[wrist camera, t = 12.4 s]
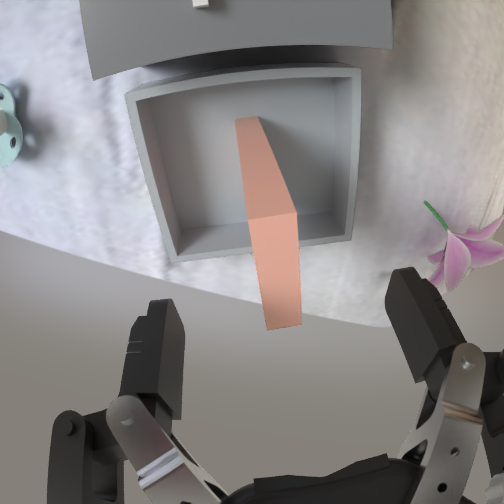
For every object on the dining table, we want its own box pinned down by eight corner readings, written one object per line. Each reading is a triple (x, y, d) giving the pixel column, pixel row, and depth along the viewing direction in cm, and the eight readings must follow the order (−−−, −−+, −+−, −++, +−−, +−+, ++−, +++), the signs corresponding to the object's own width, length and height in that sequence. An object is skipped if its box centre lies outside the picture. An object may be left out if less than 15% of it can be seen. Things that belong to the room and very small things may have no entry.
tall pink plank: (257, 115, 20) (296, 212, 10) (267, 189, 24) (301, 324, 14) (234, 119, 20) (247, 220, 10) (246, 192, 24) (267, 330, 14)
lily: (373, 262, 32) (425, 330, 28) (395, 200, 22) (474, 296, 17) (441, 211, 33) (489, 268, 28) (472, 146, 23) (538, 217, 18)
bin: (338, 62, 18) (361, 68, 15) (336, 213, 26) (351, 240, 23) (140, 84, 18) (123, 94, 15) (177, 232, 26) (171, 263, 23)
